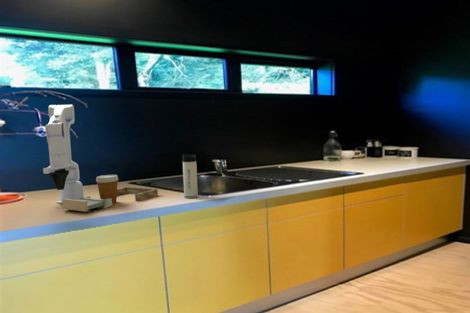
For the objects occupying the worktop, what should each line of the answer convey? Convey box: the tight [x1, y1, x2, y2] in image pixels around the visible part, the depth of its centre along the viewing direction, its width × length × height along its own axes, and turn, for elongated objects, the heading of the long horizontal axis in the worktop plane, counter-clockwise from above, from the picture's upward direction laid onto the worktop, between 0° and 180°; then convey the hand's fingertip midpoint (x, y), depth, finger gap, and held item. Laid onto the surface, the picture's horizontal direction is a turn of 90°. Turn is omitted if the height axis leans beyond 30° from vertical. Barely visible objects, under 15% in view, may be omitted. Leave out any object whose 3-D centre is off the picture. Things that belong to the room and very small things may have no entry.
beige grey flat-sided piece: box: [61, 195, 113, 213], centre depth 147 cm, size 13×14×5 cm
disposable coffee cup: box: [95, 174, 119, 205], centre depth 156 cm, size 10×10×12 cm
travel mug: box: [182, 153, 199, 199], centre depth 163 cm, size 6×7×20 cm
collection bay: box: [117, 186, 159, 202], centre depth 169 cm, size 14×20×3 cm
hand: (60, 189), depth 136 cm, fingers closed
